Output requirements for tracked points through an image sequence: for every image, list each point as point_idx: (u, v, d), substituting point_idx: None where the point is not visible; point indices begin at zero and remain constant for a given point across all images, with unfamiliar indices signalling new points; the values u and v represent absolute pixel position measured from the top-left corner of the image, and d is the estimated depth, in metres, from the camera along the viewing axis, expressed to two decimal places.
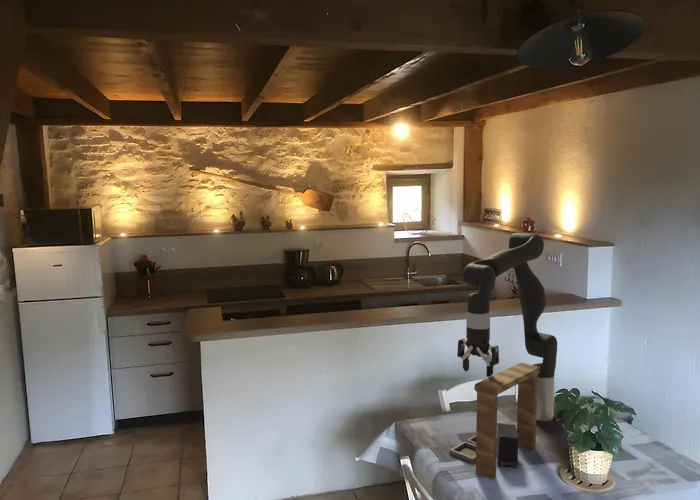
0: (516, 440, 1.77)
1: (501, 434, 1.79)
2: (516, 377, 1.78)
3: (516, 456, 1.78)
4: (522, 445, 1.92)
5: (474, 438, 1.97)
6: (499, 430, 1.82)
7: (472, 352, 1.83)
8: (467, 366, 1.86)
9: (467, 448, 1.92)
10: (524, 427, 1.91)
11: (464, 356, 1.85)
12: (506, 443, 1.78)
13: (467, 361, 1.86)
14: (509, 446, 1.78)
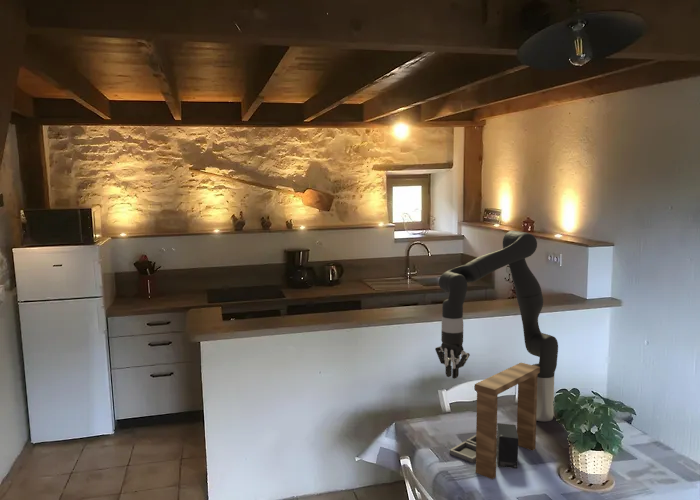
0: (516, 440, 1.77)
1: (501, 434, 1.79)
2: (516, 377, 1.78)
3: (516, 456, 1.78)
4: (522, 445, 1.92)
5: (474, 438, 1.97)
6: (499, 430, 1.82)
7: (449, 354, 1.95)
8: (449, 372, 1.97)
9: (467, 448, 1.92)
10: (524, 427, 1.91)
11: (445, 362, 1.96)
12: (506, 443, 1.78)
13: (449, 367, 1.97)
14: (509, 446, 1.78)
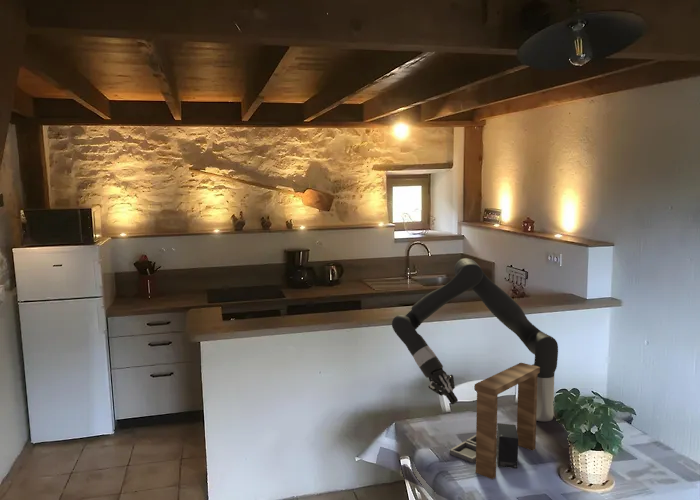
0: (516, 440, 1.77)
1: (501, 434, 1.79)
2: (516, 377, 1.78)
3: (516, 456, 1.78)
4: (522, 445, 1.92)
5: (474, 438, 1.97)
6: (499, 430, 1.82)
7: None
8: None
9: (467, 448, 1.92)
10: (524, 427, 1.91)
11: None
12: (506, 443, 1.78)
13: None
14: (509, 446, 1.78)
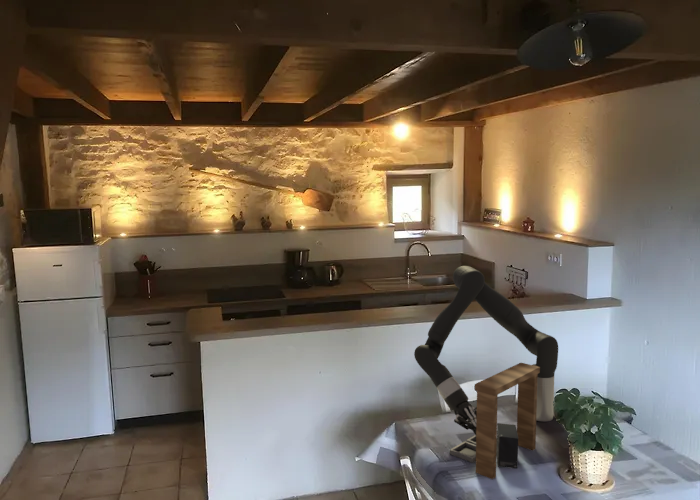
0: (516, 440, 1.77)
1: (501, 434, 1.79)
2: (516, 377, 1.78)
3: (516, 456, 1.78)
4: (522, 445, 1.92)
5: (474, 438, 1.97)
6: (499, 430, 1.82)
7: None
8: None
9: (467, 448, 1.92)
10: (524, 427, 1.91)
11: None
12: (506, 443, 1.78)
13: None
14: (509, 446, 1.78)
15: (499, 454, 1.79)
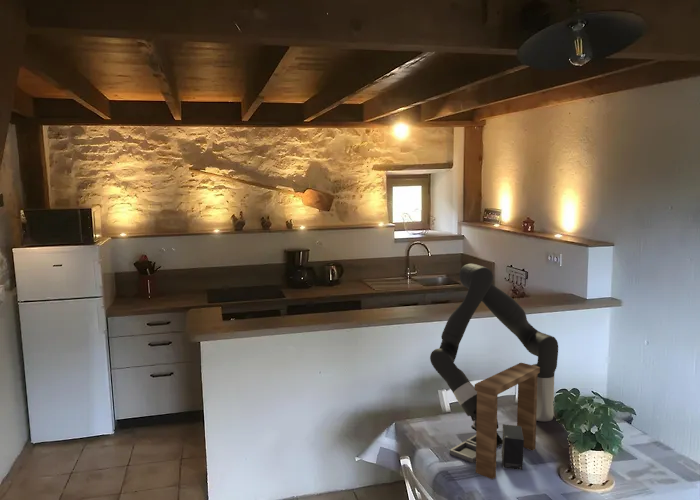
0: (521, 441, 1.76)
1: (506, 435, 1.78)
2: (516, 377, 1.78)
3: (521, 457, 1.76)
4: None
5: (474, 438, 1.97)
6: (504, 431, 1.81)
7: None
8: (497, 440, 1.85)
9: (467, 448, 1.92)
10: (524, 427, 1.91)
11: None
12: (512, 444, 1.77)
13: None
14: (514, 447, 1.76)
15: (504, 455, 1.78)
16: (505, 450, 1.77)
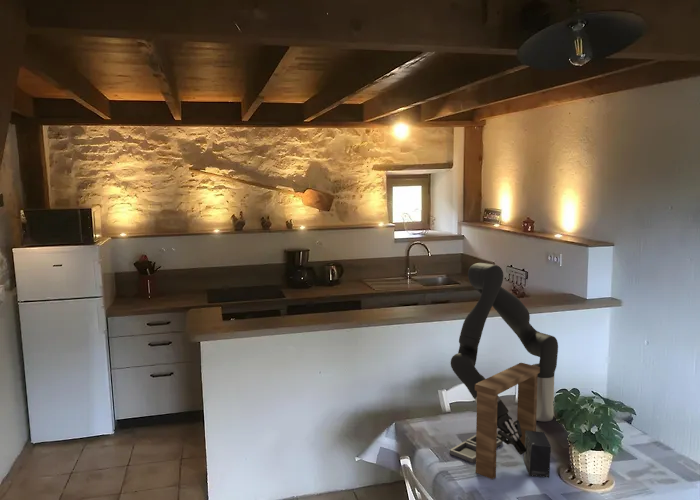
0: (549, 448, 1.71)
1: (533, 442, 1.73)
2: (516, 377, 1.78)
3: (548, 465, 1.72)
4: None
5: (474, 438, 1.97)
6: (529, 438, 1.76)
7: None
8: None
9: (467, 448, 1.92)
10: (524, 427, 1.91)
11: None
12: (539, 451, 1.72)
13: None
14: (541, 454, 1.72)
15: (531, 463, 1.72)
16: (532, 457, 1.72)
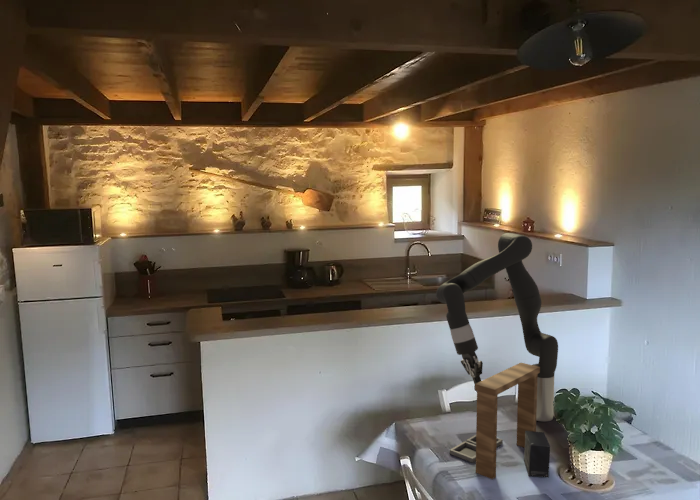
0: (548, 448, 1.71)
1: (532, 442, 1.73)
2: (516, 377, 1.78)
3: (548, 465, 1.72)
4: (522, 445, 1.92)
5: (474, 438, 1.97)
6: (529, 438, 1.76)
7: None
8: (477, 382, 1.93)
9: (467, 448, 1.92)
10: (524, 427, 1.91)
11: (470, 373, 1.94)
12: (538, 451, 1.72)
13: None
14: (540, 455, 1.72)
15: (530, 463, 1.73)
16: (531, 458, 1.72)
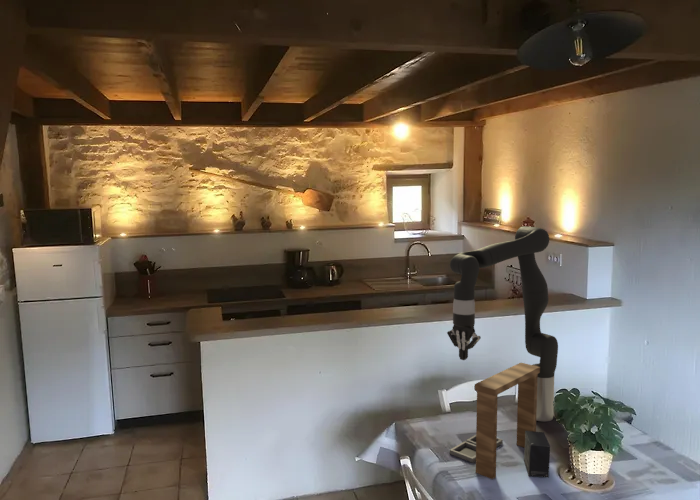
0: (548, 448, 1.71)
1: (532, 442, 1.73)
2: (516, 377, 1.78)
3: (548, 465, 1.72)
4: (522, 445, 1.92)
5: (474, 438, 1.97)
6: (529, 438, 1.76)
7: (461, 336, 1.95)
8: None
9: (467, 448, 1.92)
10: (524, 427, 1.91)
11: (459, 345, 1.96)
12: (538, 451, 1.72)
13: None
14: (540, 455, 1.72)
15: (530, 463, 1.73)
16: (531, 458, 1.72)
